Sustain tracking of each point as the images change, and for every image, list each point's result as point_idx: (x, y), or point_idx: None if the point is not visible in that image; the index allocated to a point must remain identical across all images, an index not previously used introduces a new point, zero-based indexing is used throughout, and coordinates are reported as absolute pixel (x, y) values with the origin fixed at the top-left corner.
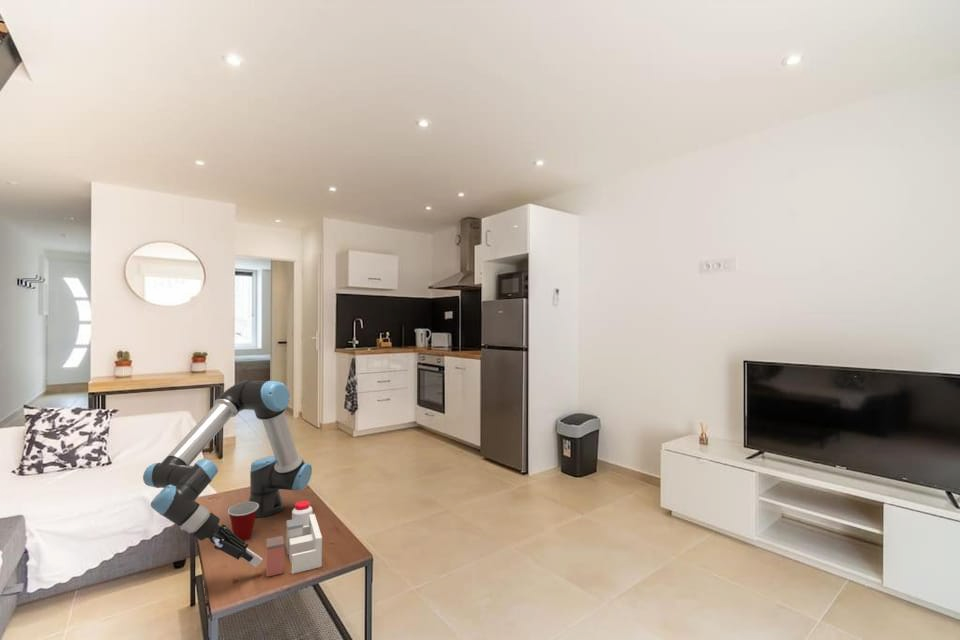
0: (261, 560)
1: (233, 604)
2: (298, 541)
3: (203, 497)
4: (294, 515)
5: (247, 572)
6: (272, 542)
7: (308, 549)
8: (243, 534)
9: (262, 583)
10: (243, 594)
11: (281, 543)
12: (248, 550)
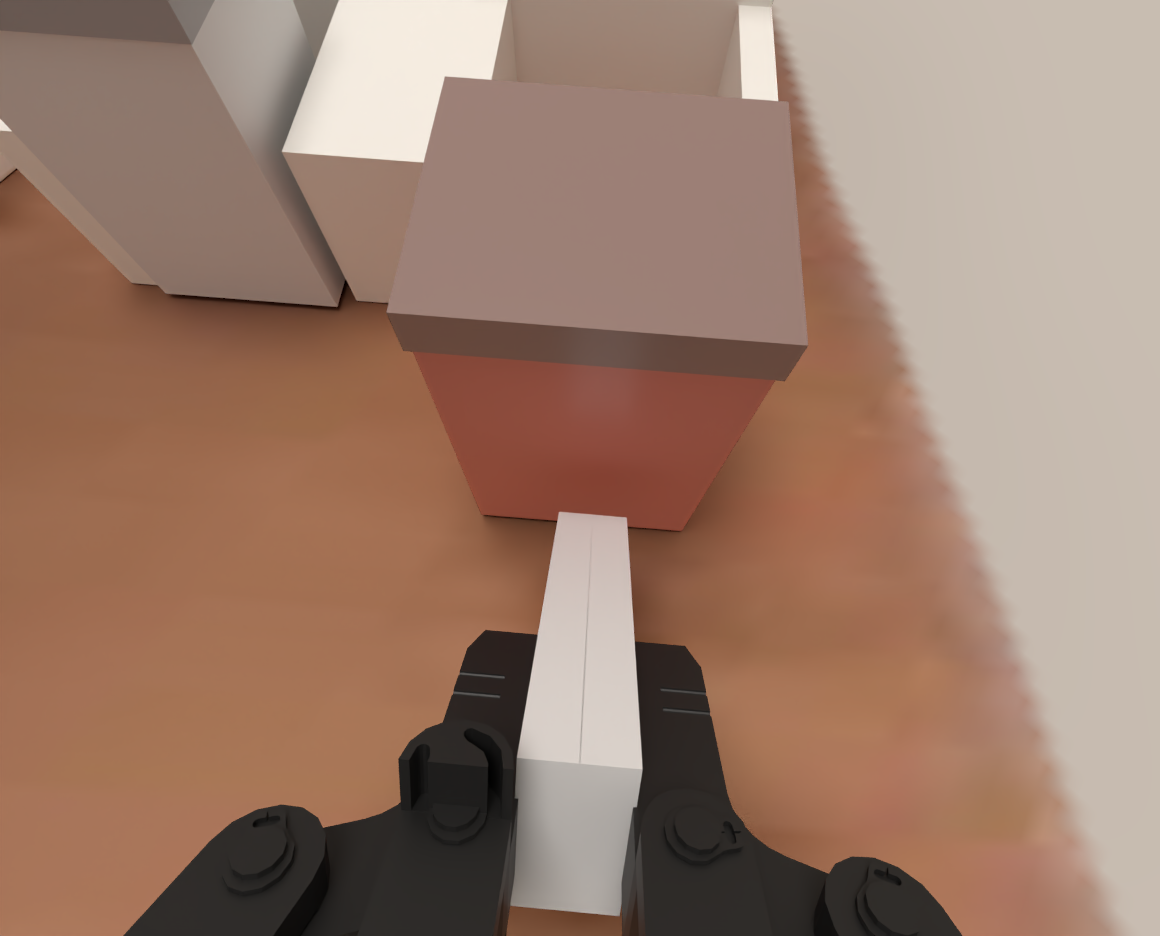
0: (627, 529)
1: (1115, 932)
2: (440, 89)
3: None
4: None
5: (444, 717)
6: (637, 237)
7: None
8: None
9: (779, 583)
10: (931, 799)
11: (762, 129)
12: (612, 726)
